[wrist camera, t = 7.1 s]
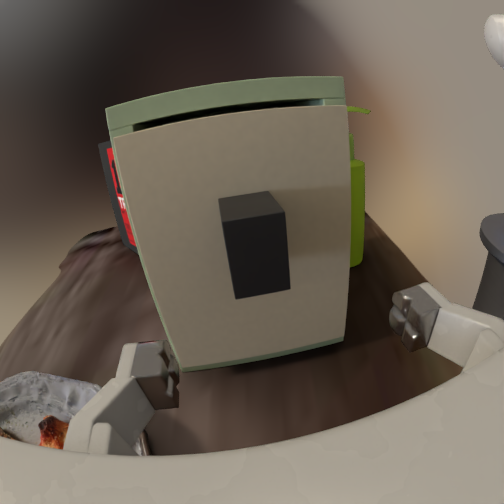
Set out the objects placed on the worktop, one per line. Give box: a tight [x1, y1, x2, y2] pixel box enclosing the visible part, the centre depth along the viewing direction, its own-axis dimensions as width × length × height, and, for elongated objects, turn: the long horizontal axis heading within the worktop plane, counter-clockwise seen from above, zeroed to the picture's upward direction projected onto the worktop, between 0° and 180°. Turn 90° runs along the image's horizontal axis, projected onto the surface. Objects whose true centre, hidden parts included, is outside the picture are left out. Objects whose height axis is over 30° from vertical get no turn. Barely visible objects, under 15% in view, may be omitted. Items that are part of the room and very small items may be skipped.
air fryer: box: [106, 76, 346, 372], centre depth 26 cm, size 14×15×23 cm
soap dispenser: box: [347, 107, 371, 267], centre depth 35 cm, size 6×7×20 cm
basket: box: [113, 105, 351, 368], centre depth 23 cm, size 17×14×18 cm
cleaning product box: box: [98, 140, 139, 254], centre depth 46 cm, size 16×9×20 cm, turn 45°
